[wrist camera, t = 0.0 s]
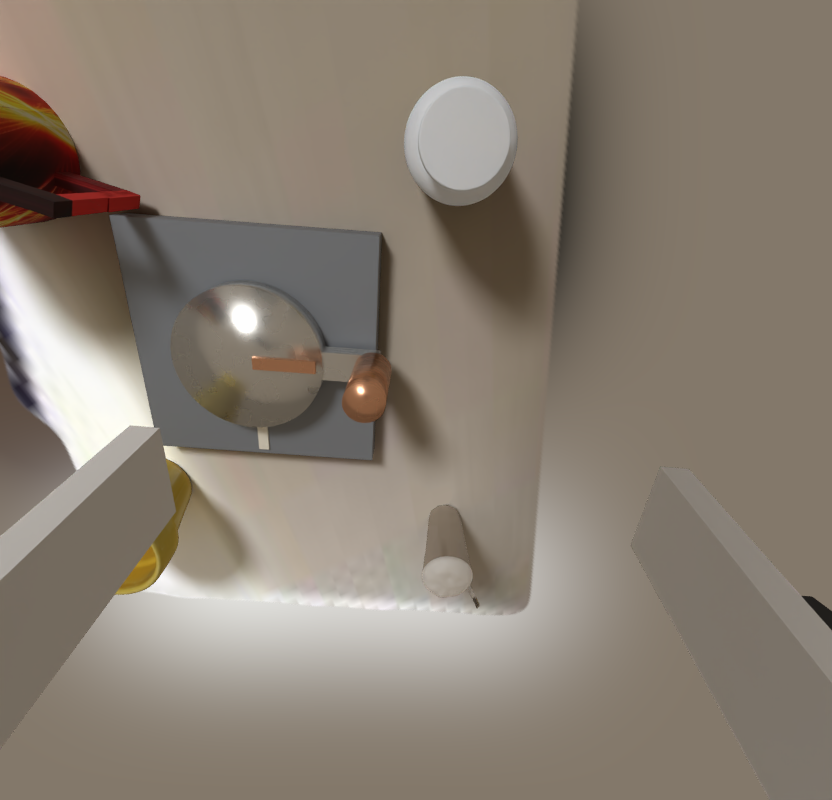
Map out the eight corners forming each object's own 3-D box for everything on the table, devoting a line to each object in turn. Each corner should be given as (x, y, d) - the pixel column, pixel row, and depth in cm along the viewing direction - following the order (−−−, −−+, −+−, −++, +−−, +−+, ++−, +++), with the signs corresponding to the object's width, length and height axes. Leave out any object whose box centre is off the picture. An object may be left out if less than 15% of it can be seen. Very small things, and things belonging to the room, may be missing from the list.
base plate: (125, 212, 36) (107, 215, 34) (381, 232, 36) (379, 236, 34) (168, 434, 45) (156, 446, 43) (374, 448, 45) (371, 461, 43)
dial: (193, 411, 41) (145, 460, 34) (171, 274, 36) (108, 299, 29) (389, 425, 41) (382, 477, 34) (396, 291, 36) (389, 320, 29)
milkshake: (457, 541, 50) (464, 622, 41) (414, 522, 49) (412, 601, 40) (480, 513, 48) (493, 591, 39) (436, 492, 47) (439, 567, 38)
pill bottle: (511, 174, 34) (548, 175, 24) (431, 214, 35) (433, 232, 25) (478, 79, 31) (503, 32, 21) (393, 125, 33) (378, 104, 22)
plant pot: (119, 518, 50) (53, 592, 41) (96, 435, 45) (16, 499, 36) (215, 524, 50) (170, 600, 41) (203, 443, 45) (148, 509, 36)
